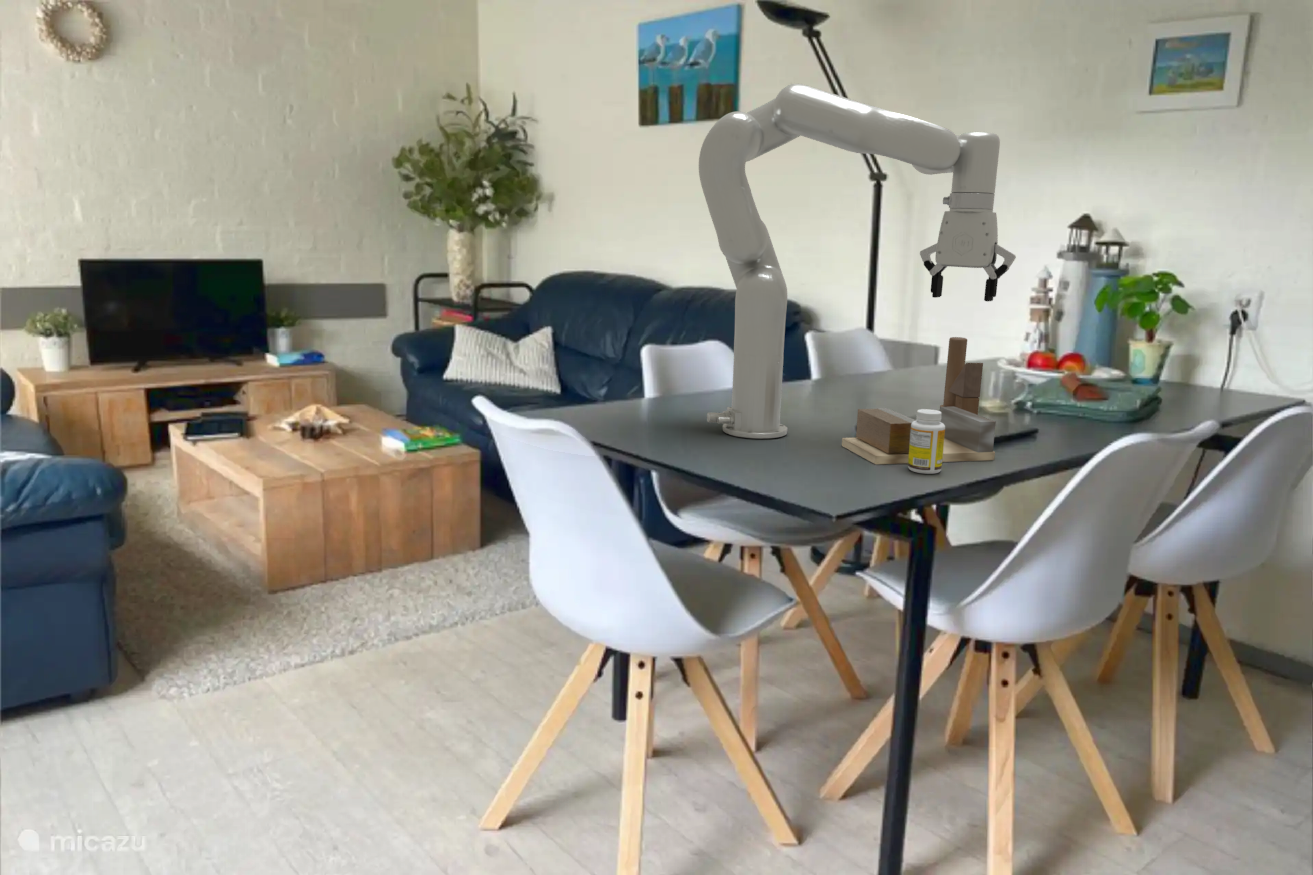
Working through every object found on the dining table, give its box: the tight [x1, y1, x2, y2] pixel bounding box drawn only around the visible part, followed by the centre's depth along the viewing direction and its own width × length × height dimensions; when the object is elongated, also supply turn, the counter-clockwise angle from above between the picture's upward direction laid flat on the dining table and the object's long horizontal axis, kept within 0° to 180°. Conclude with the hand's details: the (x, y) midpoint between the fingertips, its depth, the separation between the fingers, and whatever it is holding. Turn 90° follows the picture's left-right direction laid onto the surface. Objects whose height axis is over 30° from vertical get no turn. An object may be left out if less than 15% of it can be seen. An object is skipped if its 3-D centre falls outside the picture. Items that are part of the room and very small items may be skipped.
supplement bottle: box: [907, 408, 945, 475], centre depth 163 cm, size 6×6×10 cm
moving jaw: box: [855, 407, 916, 454], centre depth 174 cm, size 6×14×5 cm, turn 14°
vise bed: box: [841, 406, 997, 465], centre depth 176 cm, size 23×14×7 cm, turn 104°
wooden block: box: [939, 336, 984, 415], centre depth 198 cm, size 4×11×18 cm, turn 7°
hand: (962, 299), depth 180 cm, fingers open, 9 cm apart
